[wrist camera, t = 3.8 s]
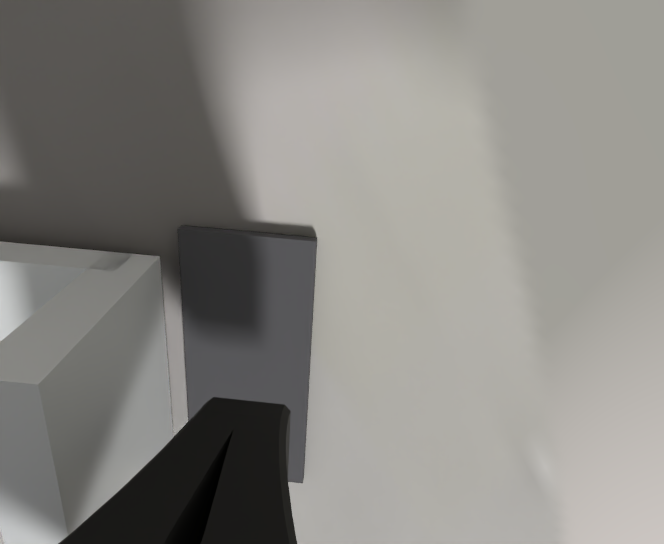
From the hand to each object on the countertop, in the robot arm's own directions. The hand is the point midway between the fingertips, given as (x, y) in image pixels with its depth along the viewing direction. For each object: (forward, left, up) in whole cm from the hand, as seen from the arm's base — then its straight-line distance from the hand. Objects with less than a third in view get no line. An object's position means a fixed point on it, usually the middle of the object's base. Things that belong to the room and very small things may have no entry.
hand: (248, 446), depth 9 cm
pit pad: (0, 0, -2) cm, 2 cm away
